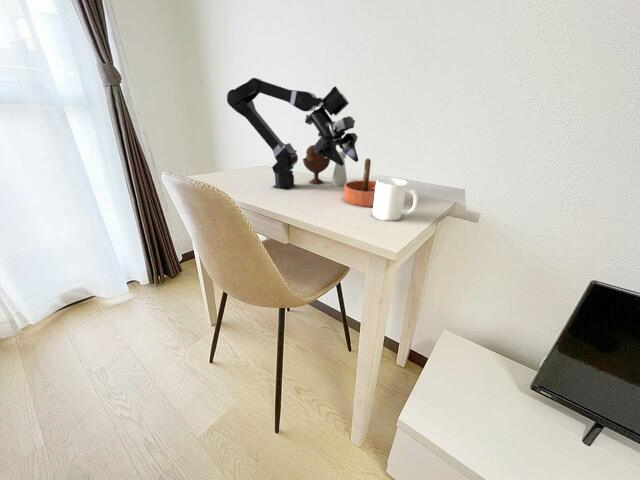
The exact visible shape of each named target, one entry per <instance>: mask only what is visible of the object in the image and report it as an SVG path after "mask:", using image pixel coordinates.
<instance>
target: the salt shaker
mask: <svg viewBox="0 0 640 480" xmlns="http://www.w3.org/2000/svg"><path fill="white" fill-rule="evenodd" d="M338 153H339V155H340V157H341V158H342V160H343V162H344V165H343V166H340V165H339V164H337V163H335V164H334V169H333V173H332V183H333V185H334V186H335V187H344V184H345V183H347V182H348V177H347V170H346V169H347V168H346V161H345V159H346V158H347V155H346V154H345V153H344V152H343V151H342V150H341V151H339V150H338Z"/></svg>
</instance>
